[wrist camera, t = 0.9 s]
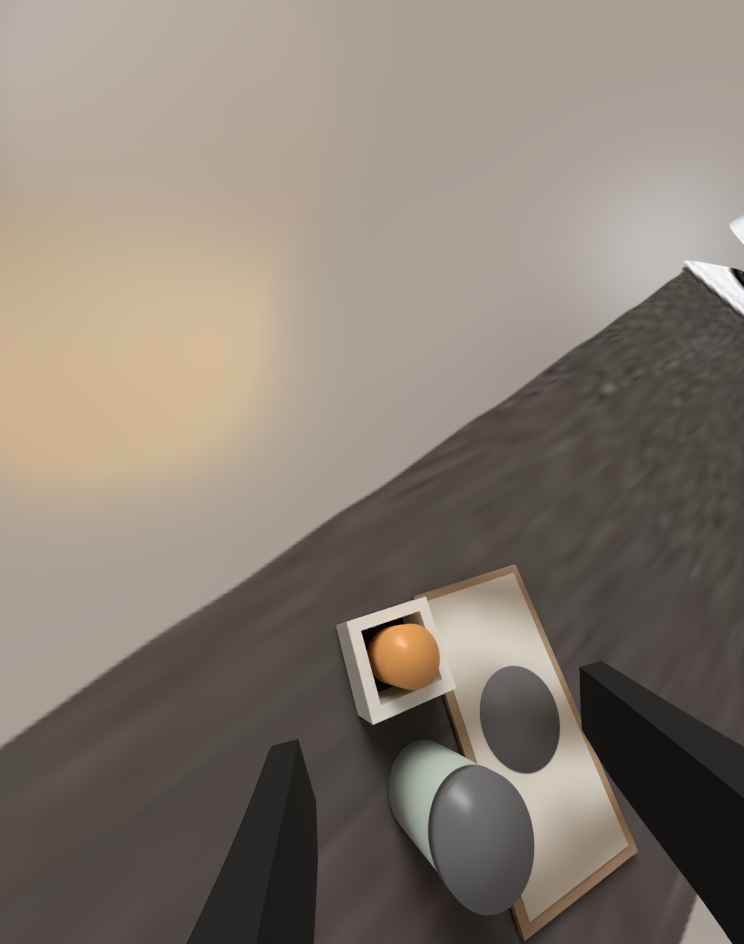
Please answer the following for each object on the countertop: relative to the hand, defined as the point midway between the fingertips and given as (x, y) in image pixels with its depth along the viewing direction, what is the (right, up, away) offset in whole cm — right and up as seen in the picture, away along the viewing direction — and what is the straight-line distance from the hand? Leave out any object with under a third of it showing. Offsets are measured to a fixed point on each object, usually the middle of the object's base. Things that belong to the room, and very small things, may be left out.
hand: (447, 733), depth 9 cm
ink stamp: (+1, -10, +10) cm, 14 cm away
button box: (-1, -4, +12) cm, 13 cm away
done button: (-1, -3, +11) cm, 11 cm away
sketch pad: (+7, -8, +13) cm, 16 cm away
